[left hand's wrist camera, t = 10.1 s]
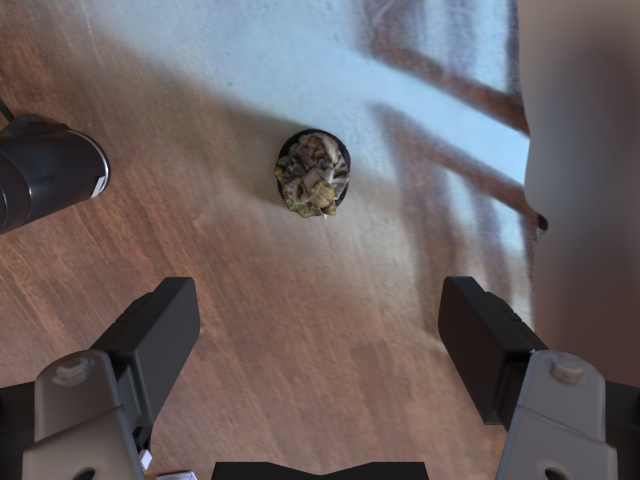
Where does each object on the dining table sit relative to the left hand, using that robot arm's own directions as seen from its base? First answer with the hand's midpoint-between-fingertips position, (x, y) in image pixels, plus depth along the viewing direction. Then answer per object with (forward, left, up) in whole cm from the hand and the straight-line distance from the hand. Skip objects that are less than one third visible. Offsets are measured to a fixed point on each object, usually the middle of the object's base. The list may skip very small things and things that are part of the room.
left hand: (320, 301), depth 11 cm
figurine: (+2, -3, -39) cm, 39 cm away
